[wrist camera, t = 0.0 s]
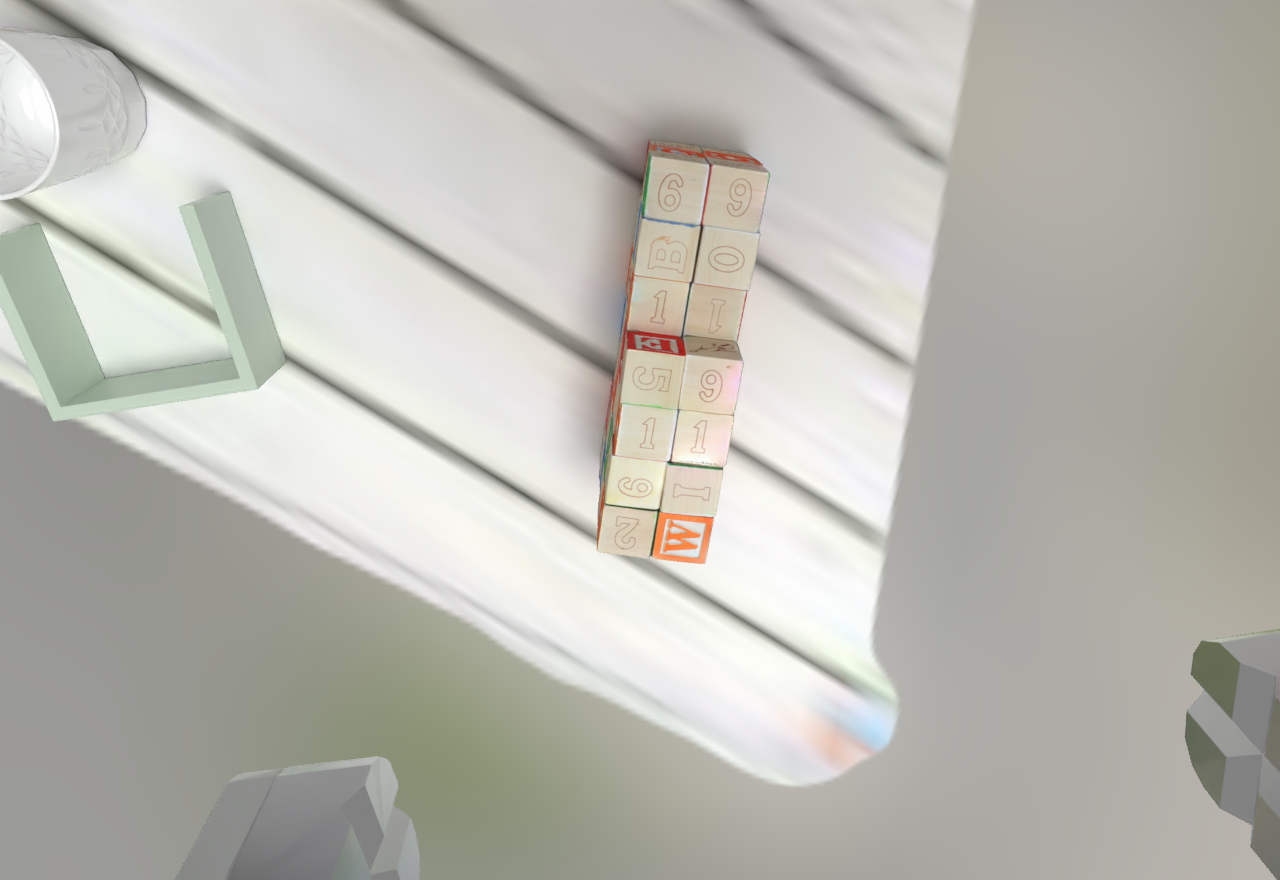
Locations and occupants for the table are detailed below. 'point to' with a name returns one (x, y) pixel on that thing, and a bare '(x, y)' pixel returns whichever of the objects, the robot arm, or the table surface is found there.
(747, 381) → the table surface
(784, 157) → the table surface
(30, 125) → the white cup
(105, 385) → the box
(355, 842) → the robot arm
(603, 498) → the stack of blocks
